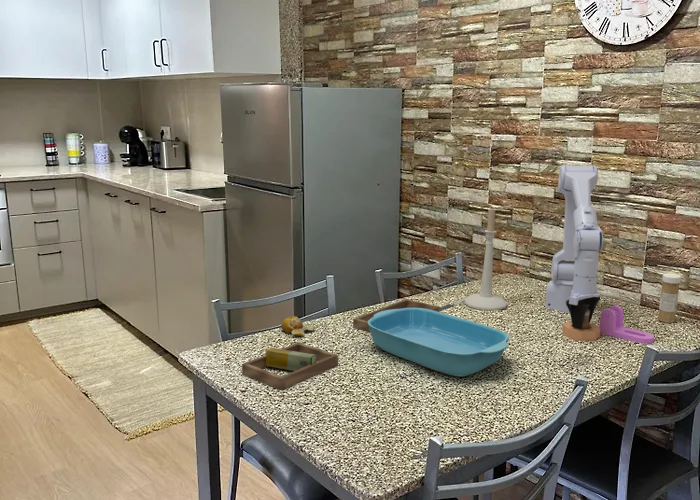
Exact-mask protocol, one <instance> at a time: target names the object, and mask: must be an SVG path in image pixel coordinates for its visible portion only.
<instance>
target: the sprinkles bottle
mask: <svg viewBox="0 0 700 500" xmlns="http://www.w3.org/2000/svg"><path fill="white" fill-rule="evenodd" d="M681 280H682V277H681V275H679V274H676V273H671V272H668V273H667V272H666V273H664V274H662V277H661V281H662V284H661V293H660V298H659V307H658V316H657V320H658V321H660V322H663V323H665V324H667V323H675V322H676V314H677V309H678V300H679V291H680V284H681V282H682V281H681Z"/></svg>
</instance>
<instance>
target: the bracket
mask: <svg viewBox="0 0 700 500" xmlns="http://www.w3.org/2000/svg"><path fill="white" fill-rule="evenodd" d="M624 313H625V312H624V309H623V308H622V306H620V305H617V304H616V305H611V306H610V307H609V308H604V310H602V311H601V312H600V315H599V317H600V318H599V326H598V327H599V328H600V334H603V335H606V336H611V337H615V338H619V339H622V340H627V341H630V342H635V343H639V344H644V345H645V344H648V345H649V344H653V343H654V342H655V336H654V335H653V334H652V333H649V332H645V331H642V330H639V329H638V330H637V329H633V328H629V327H625V326H623V324H624Z"/></svg>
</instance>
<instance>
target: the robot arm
mask: <svg viewBox="0 0 700 500" xmlns="http://www.w3.org/2000/svg"><path fill="white" fill-rule="evenodd" d="M598 172H599V171H598V167H597V166H596V165H594V164H593V165H565V164H561V166H560V167H559V172H558V185H557V189H558V193H560V194H562V195H563V196H564V200H565V203H564V204H565V205H564V220H563V221H564V222H563V238H562V239H563V243H562V249H561V250H559V251H558V252H557V253H555V254H553V257H552V262H551V269H550V270H551V271H550V275H551V276H550V277H551V280H550V281H549V282H548V283H547V286H546V289H545V290H546V291H545V305H544V307H545V309H548V310H549V309H550V310H555V311H558V312H563V313H569V315H570V319H571V320H570V321H572V325H573V327H574V328H579V329H581V328H582V325H583V321H584V316H585V313H586V311H587V309H589V310H590V313H589V323H591V320H592V319H593V318H592V317H593V314H594V311H595V310H596V307H597V304H598V303H599V302H600V301H601V293H600V292H598V290H599V289H598V288H599V286H598V285H597V283H598V282H597V279H598V269H599V259H600V258H599V256H600V253H601V252H602V250H603V245H604V235H603V234H604V233H603V229H601V227H600V226H599V225H598V224H599V223H598V216H597V210H596V209H595V208H594V207H592V202H591V199H592V198H591V196H592V195H591V194H592V191H594V190H595V187H596V186H597V185H598V179H599V173H598Z"/></svg>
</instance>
